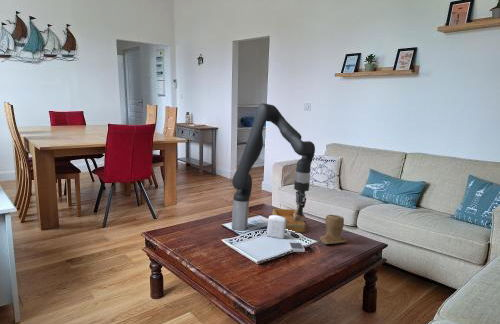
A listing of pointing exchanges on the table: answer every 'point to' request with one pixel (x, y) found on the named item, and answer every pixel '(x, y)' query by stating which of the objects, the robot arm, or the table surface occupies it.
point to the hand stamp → (298, 216)
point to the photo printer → (276, 226)
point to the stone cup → (333, 230)
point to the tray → (290, 220)
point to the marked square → (317, 248)
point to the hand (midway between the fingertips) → (299, 213)
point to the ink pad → (296, 247)
